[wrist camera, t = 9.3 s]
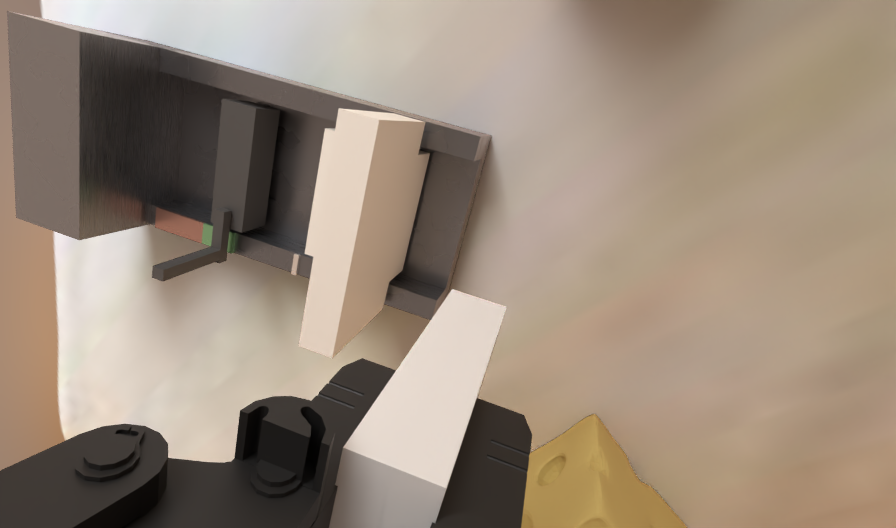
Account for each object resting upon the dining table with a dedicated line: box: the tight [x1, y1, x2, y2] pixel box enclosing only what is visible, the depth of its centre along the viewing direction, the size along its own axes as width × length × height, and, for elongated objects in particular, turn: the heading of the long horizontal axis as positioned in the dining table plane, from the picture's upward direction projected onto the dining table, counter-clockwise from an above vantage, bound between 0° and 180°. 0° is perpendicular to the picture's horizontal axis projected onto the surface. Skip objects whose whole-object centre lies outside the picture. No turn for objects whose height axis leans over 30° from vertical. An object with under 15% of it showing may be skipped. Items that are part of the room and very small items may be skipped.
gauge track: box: [7, 11, 491, 320], centre depth 26 cm, size 22×10×8 cm, turn 75°
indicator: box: [152, 99, 280, 281], centre depth 25 cm, size 2×9×7 cm, turn 165°
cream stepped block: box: [298, 108, 430, 358], centre depth 23 cm, size 5×10×8 cm, turn 165°
